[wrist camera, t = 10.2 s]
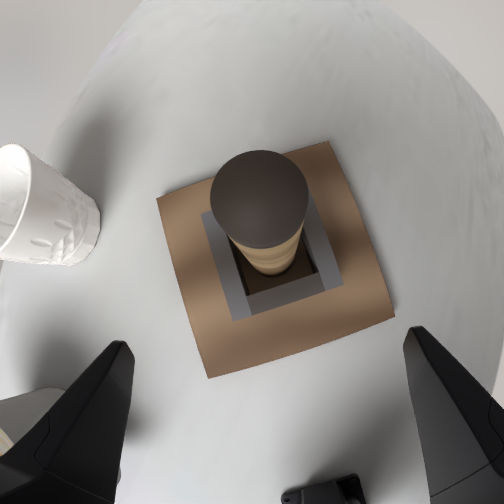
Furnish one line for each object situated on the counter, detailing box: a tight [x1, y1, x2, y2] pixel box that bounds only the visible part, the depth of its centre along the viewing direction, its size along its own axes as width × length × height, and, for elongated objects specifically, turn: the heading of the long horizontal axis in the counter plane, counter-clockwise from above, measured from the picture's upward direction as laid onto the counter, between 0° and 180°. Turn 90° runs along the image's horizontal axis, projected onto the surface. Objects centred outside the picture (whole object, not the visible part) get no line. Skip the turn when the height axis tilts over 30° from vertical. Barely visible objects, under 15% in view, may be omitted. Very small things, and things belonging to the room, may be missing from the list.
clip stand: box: [156, 141, 395, 379], centre depth 21 cm, size 14×14×4 cm
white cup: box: [0, 143, 100, 266], centre depth 21 cm, size 8×8×10 cm
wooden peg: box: [210, 150, 309, 277], centre depth 16 cm, size 3×3×13 cm
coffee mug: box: [0, 387, 121, 485], centre depth 18 cm, size 13×10×10 cm
